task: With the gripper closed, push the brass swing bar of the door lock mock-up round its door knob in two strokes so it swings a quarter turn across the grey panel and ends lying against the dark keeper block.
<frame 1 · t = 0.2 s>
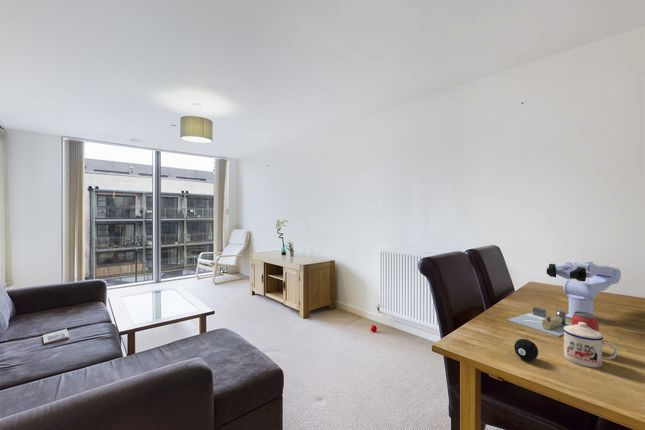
hand: (558, 273, 113), 21 cm above the table, tool horizontal, fingers open, 7 cm apart
billiard ball: (525, 359, 87), on the table
swing bar: (552, 320, 111), point 3 cm above the table, hinge at 0.0°
teacup with lid: (588, 362, 86), on the table
keeper: (539, 316, 124), resting on door panel
door knob: (560, 325, 115), resting on door panel
beer can: (584, 350, 93), on the table
door panel: (543, 323, 116), on the table
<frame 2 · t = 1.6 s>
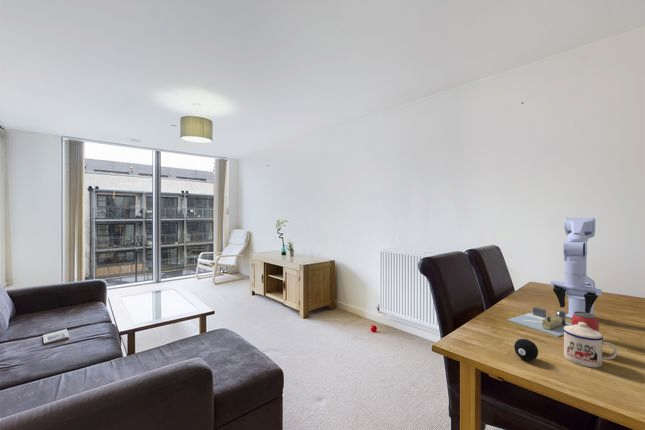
hand: (574, 309, 105), 9 cm above the table, tool pointing down, fingers open, 7 cm apart
nothing on the table moved.
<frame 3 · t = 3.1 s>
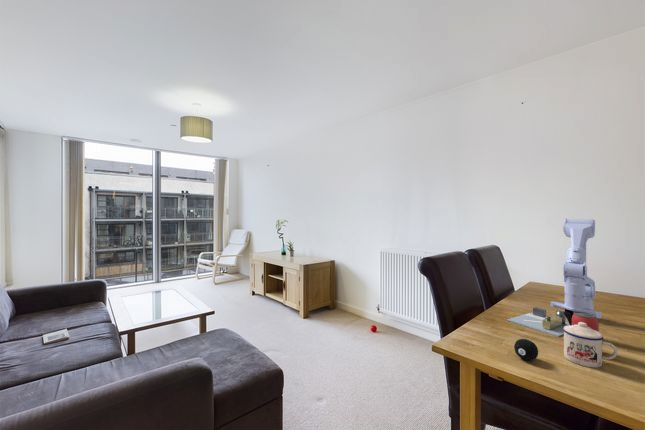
hand: (574, 331, 105), 1 cm above the table, tool pointing down, fingers closed
nothing on the table moved.
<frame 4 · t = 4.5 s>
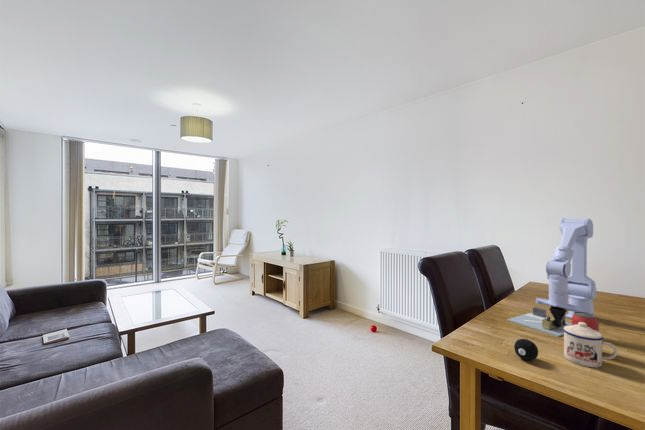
hand: (558, 326, 110), 1 cm above the table, tool pointing down, fingers closed, pressing on swing bar
swing bar: (552, 320, 111), point 3 cm above the table, hinge at -0.6°, touching gripper
everything else where it was.
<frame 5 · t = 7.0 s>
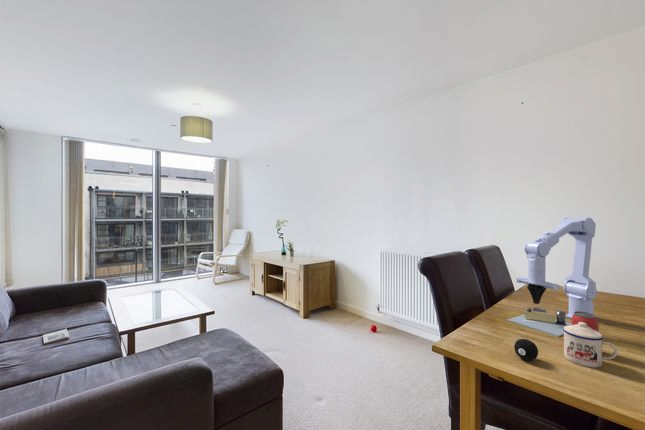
hand: (536, 303, 116), 8 cm above the table, tool pointing down, fingers closed
swing bar: (539, 314, 118), point 3 cm above the table, hinge at -57.9°
everything else where it was.
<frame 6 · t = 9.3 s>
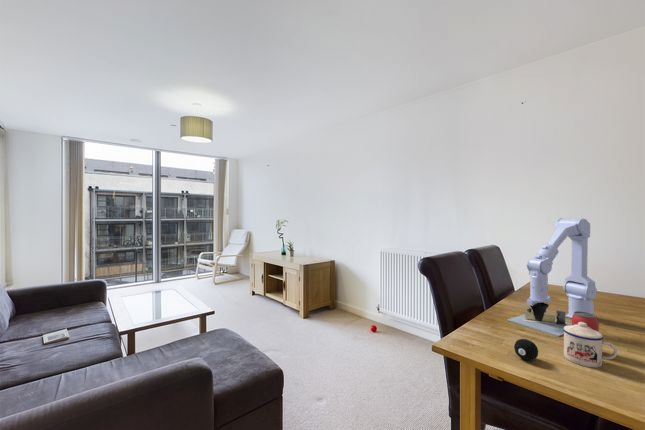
hand: (538, 320, 116), 1 cm above the table, tool pointing down, fingers closed, pressing on swing bar
swing bar: (539, 314, 118), point 3 cm above the table, hinge at -58.0°, touching gripper
everything else where it was.
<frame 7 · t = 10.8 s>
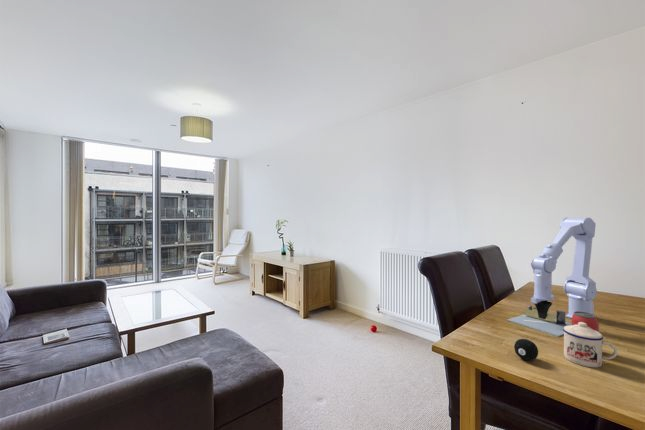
hand: (542, 318, 118), 2 cm above the table, tool pointing down, fingers closed
swing bar: (539, 313, 120), point 3 cm above the table, hinge at -79.1°, touching gripper
everything else where it was.
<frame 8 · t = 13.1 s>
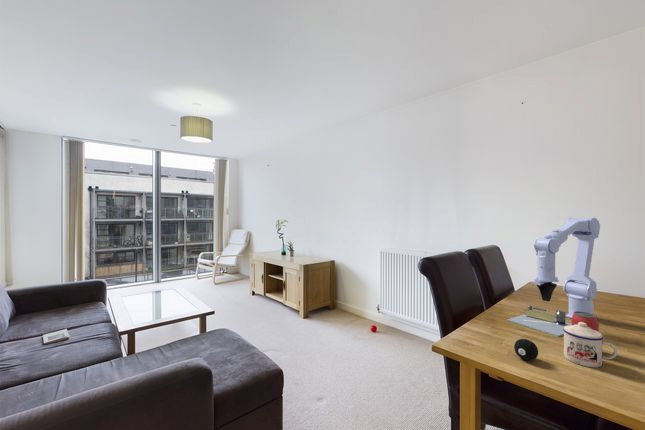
hand: (546, 300, 115), 10 cm above the table, tool pointing down, fingers closed
swing bar: (539, 313, 120), point 3 cm above the table, hinge at -79.1°
everything else where it was.
at the end: swing bar at -79° (first picture: +0°); the gripper is holding nothing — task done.
